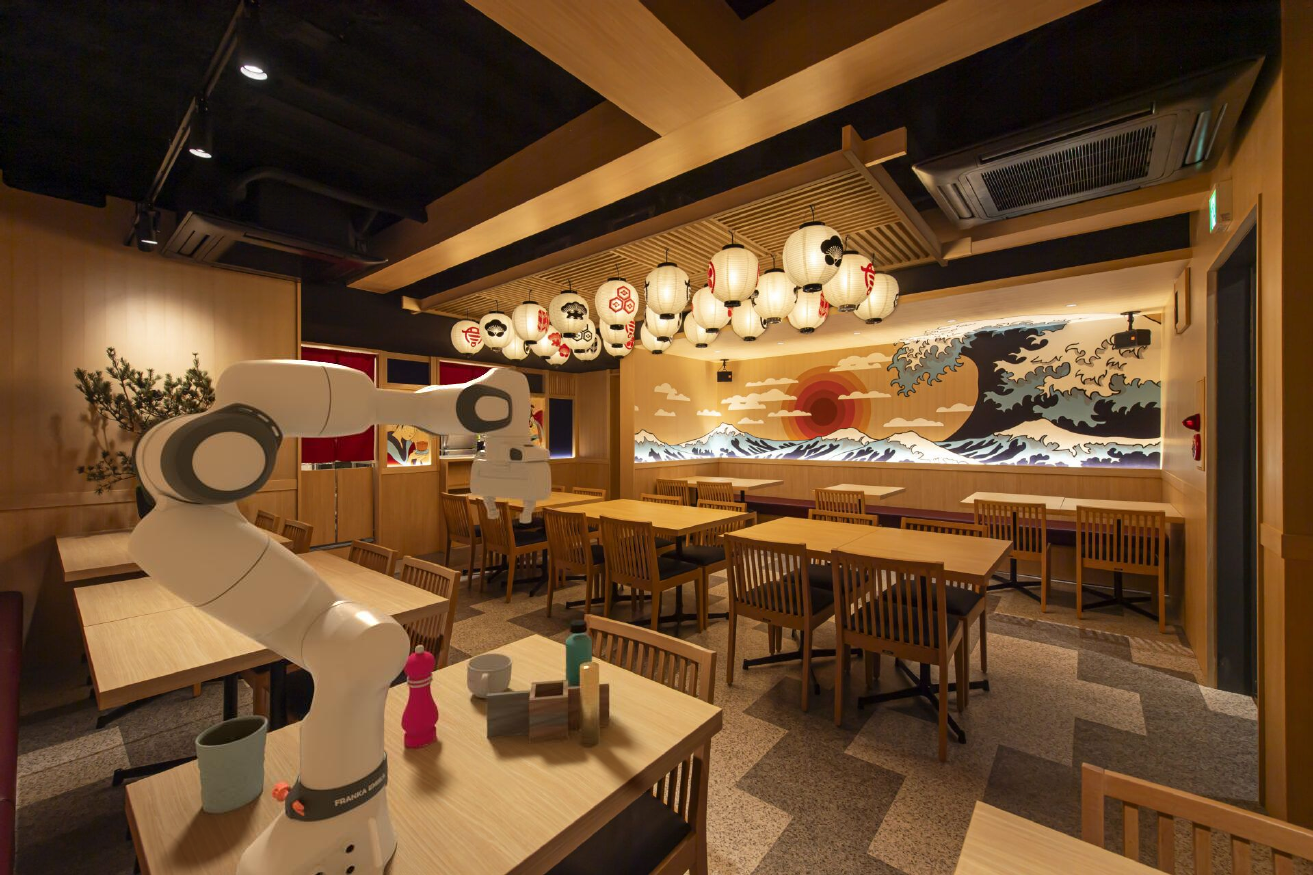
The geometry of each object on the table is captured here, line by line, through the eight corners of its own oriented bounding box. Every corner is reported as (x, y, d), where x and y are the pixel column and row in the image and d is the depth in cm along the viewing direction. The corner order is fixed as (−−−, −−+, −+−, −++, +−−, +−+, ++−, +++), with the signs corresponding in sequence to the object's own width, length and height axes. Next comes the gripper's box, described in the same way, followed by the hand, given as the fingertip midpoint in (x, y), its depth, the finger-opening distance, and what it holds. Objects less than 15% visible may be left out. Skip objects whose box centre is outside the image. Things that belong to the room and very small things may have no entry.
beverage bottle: (581, 715, 121) (580, 628, 121) (559, 707, 124) (558, 623, 124) (598, 703, 126) (598, 619, 126) (577, 695, 130) (576, 614, 130)
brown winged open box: (610, 735, 113) (610, 693, 113) (484, 747, 109) (484, 704, 109) (608, 715, 121) (607, 676, 121) (490, 726, 117) (489, 685, 117)
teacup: (476, 681, 138) (476, 651, 137) (518, 682, 137) (517, 651, 137) (454, 709, 124) (454, 675, 124) (500, 710, 123) (499, 676, 123)
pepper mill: (424, 751, 108) (424, 653, 107) (393, 747, 109) (392, 650, 109) (445, 731, 115) (445, 640, 114) (416, 728, 116) (415, 637, 116)
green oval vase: (211, 824, 88) (211, 752, 88) (185, 803, 93) (184, 735, 92) (279, 788, 97) (278, 723, 96) (251, 771, 101) (251, 709, 101)
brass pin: (590, 749, 108) (590, 671, 108) (576, 743, 110) (575, 666, 110) (603, 740, 111) (603, 664, 111) (589, 734, 113) (588, 660, 113)
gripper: (461, 450, 108) (462, 518, 108) (531, 452, 97) (532, 527, 97) (487, 449, 113) (487, 513, 114) (556, 451, 102) (557, 522, 102)
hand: (509, 520), depth 105 cm, fingers open, 8 cm apart
